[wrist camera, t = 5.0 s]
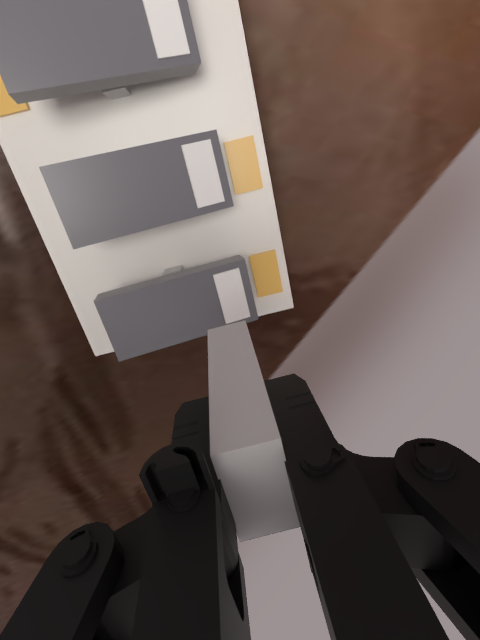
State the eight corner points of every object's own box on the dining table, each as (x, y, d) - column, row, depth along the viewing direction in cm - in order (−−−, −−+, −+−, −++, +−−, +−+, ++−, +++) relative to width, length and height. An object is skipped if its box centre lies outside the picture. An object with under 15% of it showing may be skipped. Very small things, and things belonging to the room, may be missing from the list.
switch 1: (17, 104, 16) (7, 93, 15) (-26, 0, 15) (-43, -25, 13) (194, 74, 18) (202, 61, 17) (172, -21, 17) (178, -44, 15)
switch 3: (121, 350, 22) (118, 362, 21) (98, 293, 21) (93, 302, 19) (252, 311, 23) (259, 320, 22) (239, 254, 22) (245, 259, 20)
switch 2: (76, 246, 19) (72, 250, 17) (45, 170, 18) (38, 166, 16) (225, 206, 21) (234, 206, 19) (209, 135, 20) (217, 128, 18)
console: (110, 334, 29) (88, 367, 24) (-8, 50, 21) (-79, 7, 16) (283, 291, 28) (299, 315, 23) (225, -10, 21) (230, -74, 16)
